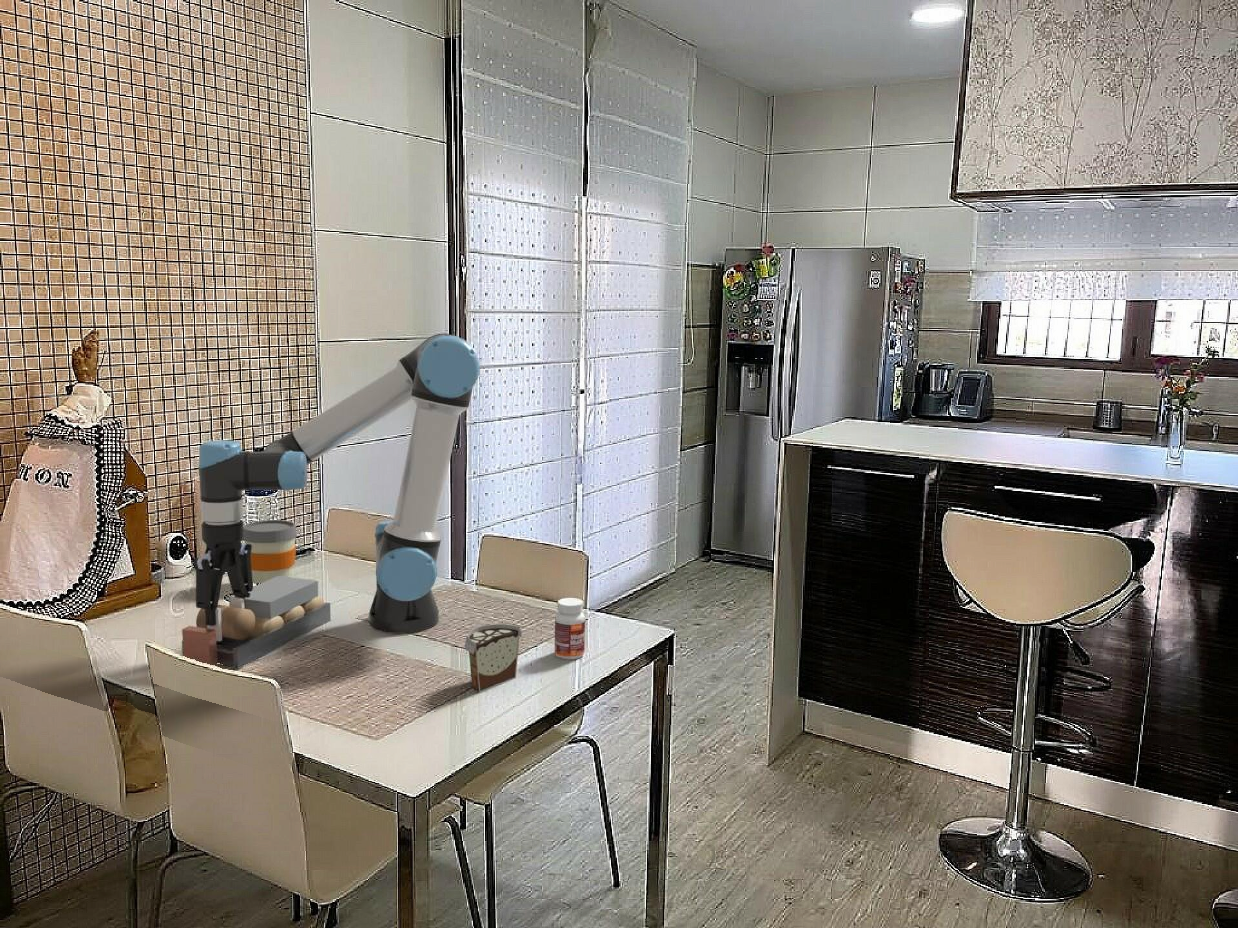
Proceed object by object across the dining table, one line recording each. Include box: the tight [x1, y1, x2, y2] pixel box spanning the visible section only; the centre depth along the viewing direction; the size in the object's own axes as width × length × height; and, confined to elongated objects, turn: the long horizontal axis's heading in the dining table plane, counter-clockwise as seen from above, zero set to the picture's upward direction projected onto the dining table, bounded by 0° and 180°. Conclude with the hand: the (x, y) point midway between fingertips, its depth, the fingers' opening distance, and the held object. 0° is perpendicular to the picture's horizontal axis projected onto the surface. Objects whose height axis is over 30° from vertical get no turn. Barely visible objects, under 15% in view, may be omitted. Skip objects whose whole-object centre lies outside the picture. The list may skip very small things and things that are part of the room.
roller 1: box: [195, 604, 255, 640], centre depth 184 cm, size 9×6×6 cm, turn 73°
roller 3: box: [278, 606, 305, 623], centre depth 198 cm, size 10×6×6 cm, turn 73°
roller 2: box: [250, 616, 284, 637], centre depth 192 cm, size 10×6×6 cm, turn 73°
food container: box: [464, 623, 523, 694], centre depth 175 cm, size 12×6×10 cm, turn 141°
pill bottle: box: [554, 597, 586, 661], centre depth 189 cm, size 6×6×11 cm
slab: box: [228, 576, 319, 619], centre depth 198 cm, size 10×16×4 cm, turn 163°
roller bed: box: [181, 602, 332, 670], centre depth 192 cm, size 13×34×8 cm, turn 163°
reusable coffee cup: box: [242, 519, 298, 583], centre depth 229 cm, size 13×12×15 cm
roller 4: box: [299, 595, 325, 613], centre depth 205 cm, size 10×6×6 cm, turn 73°
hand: (226, 634), depth 184 cm, fingers closed on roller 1, 6 cm apart
